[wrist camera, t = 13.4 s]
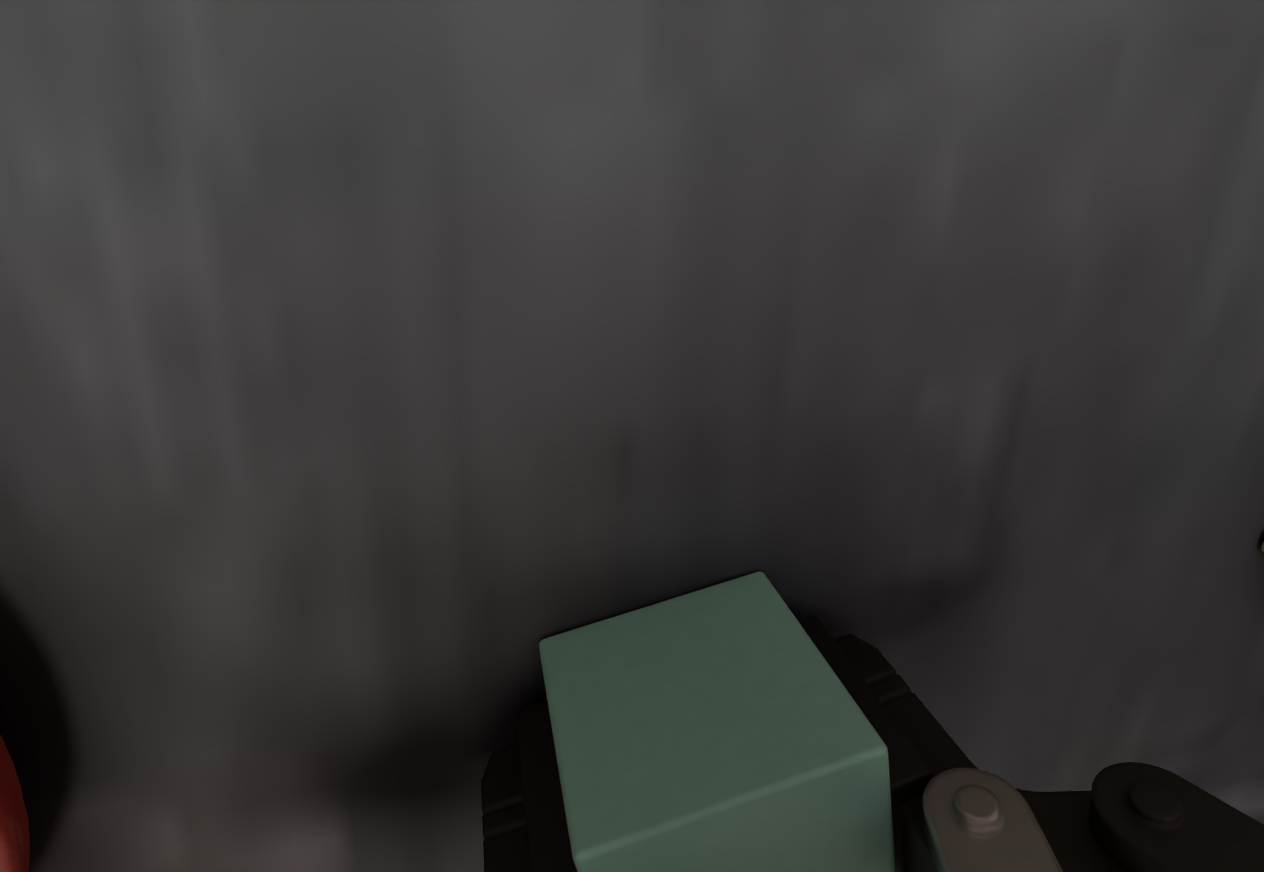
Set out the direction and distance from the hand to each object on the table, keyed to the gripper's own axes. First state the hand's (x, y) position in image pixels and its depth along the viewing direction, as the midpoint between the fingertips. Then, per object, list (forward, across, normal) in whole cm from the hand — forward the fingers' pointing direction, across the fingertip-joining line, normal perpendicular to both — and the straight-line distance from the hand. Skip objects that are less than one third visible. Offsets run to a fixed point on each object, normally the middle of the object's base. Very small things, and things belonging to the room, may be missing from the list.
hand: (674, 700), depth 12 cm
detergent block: (0, 0, 0) cm, 0 cm away
